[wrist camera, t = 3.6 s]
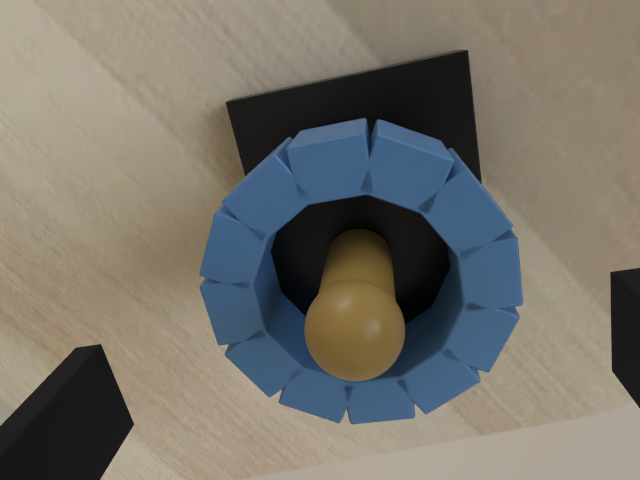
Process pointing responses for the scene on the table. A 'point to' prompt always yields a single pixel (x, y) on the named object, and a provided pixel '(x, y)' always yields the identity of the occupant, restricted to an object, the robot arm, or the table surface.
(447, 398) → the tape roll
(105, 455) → the robot arm
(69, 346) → the table surface
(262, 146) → the tape holder
